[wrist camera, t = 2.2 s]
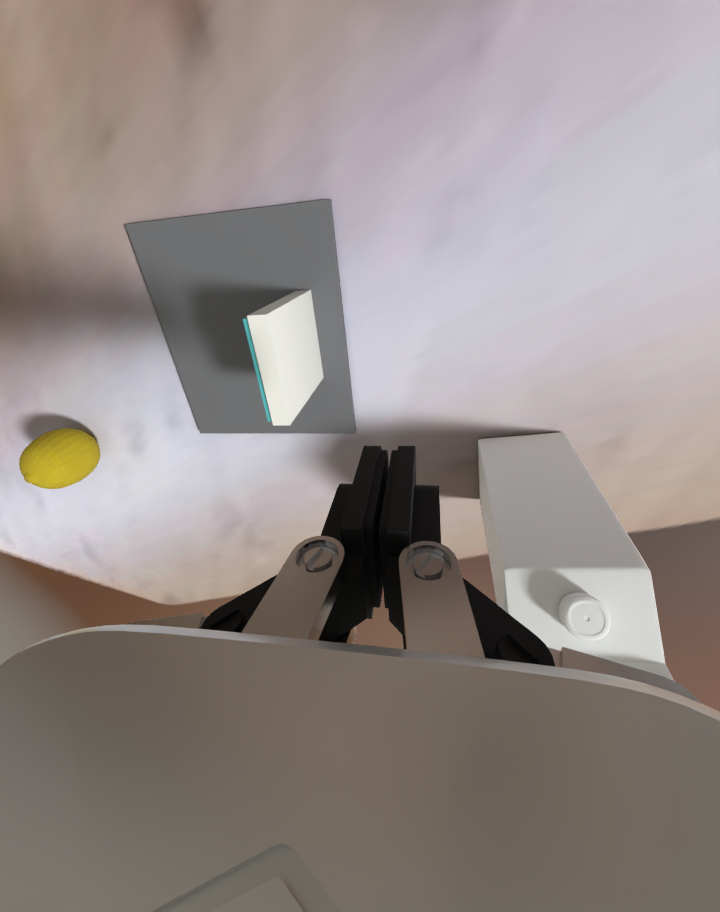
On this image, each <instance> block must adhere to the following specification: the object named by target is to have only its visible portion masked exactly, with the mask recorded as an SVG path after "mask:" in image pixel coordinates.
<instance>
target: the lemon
mask: <svg viewBox="0 0 720 912" xmlns="http://www.w3.org/2000/svg"><path fill="white" fill-rule="evenodd" d="M99 459H100V449H99V446H98V444H97V442H96V441H95V438H94V437H92V436H90V435H89V434H87V433H86V432H83V431H81V430H77V429H71V428H63V429H57V430H54V431H50V432H47V433H45V434H43V435H41V436H40V437H38V438H37V439H35V440H34V441H33V442H32V443H30V444H29V445H28V446H27V447H26V448H25V450H24V451H23V453H22V455H21V457H20V462H19V466H20V470H21V473H22V475H23V476H24V479H25V481H26V482H28V483H32V484H33V485H36V486H38V487H42V488H47V489H58V488H63V487H66V486H69V485H72V484H74V483H76V482H79V481H80V480H82V479H84V478H85V477H86V476H88V475H89V474H90V473H91V472H92V471H93V470H94V469H95V467H96V466H97V464H98V462H99Z"/></svg>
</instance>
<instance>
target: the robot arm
mask: <svg viewBox="0 0 720 912" xmlns="http://www.w3.org/2000/svg"><path fill="white" fill-rule="evenodd" d="M382 589H384V601H385V608H389V620H390V622H391V623H392V624H393V625H394V626H395V627H396V628H397V629H398V630H399V632H400V633H401V634H402V639H403V649H395V648H385V647H376V646H366V645H357V644H353V641H354V638H355V634H356V626H357V625H358V624H359V623H361V622H362V621H364V620H365V619H366V618H369V619H372V613H373V607H380V604H381V596H382ZM0 912H720V712H719V711H717V710H714V709H712V708H710V707H707V706H705V705H703V704H701V703H700V701H698V699H697V698H696V697H695V696H694V695H693V694H692V693H691V692H690V691H688V690H687V689H685V688H684V687H683V686H681V685H680V684H679V683H677V682H675V681H673V680H670V679H668V678H666V677H663V676H661V675H657V674H654V673H651V672H647V671H644V670H640V669H637V668H634V667H630V666H627V665H623V664H620V663H617V662H613V661H610V660H606V659H603V658H599V657H596V656H593V655H589V654H586V653H582V652H579V651H576V650H572V649H569V648H565V647H562V649H561V651H559V650H555V649H552V648H549V647H547V646H546V644H545V643H544V642H543V641H542V640H541V639H540V638H539V637H538V636H536V635H535V634H534V633H533V632H531V631H530V630H529V629H527V628H526V627H525V626H524V625H522V624H521V623H520V622H519V621H517V620H516V619H515V618H513V617H512V616H511V615H510V614H508V613H507V612H506V611H505V610H503V609H502V608H501V607H499V606H498V605H497V604H496V603H494V602H493V601H492V600H490V599H489V598H488V597H487V596H485V595H484V594H483V593H482V592H480V591H479V590H478V589H476V588H475V587H474V586H473V585H471V584H470V583H469V582H468V581H466V580H465V579H464V578H462V574H461V571H460V567H459V564H458V560H457V558H456V556H455V554H454V553H453V552H452V551H451V550H450V549H449V548H448V547H446V546H444V545H442V544H441V532H440V504H439V486H424V485H416V449H415V446H399V447H398V450H392V453H391V459H390V465H389V466H388V452H387V450H382V448H381V446H364V448H363V451H362V455H361V458H360V461H359V465H358V468H357V471H356V475H355V478H354V481H353V484H339V486H338V488H337V491H336V494H335V497H334V500H333V502H332V505H331V508H330V511H329V514H328V517H327V519H326V522H325V525H324V528H323V531H322V534H321V536H316V537H311V538H308V539H306V540H304V541H302V542H301V543H299V544H298V545H297V546H296V547H295V548H294V549H293V551H292V552H291V554H290V555H289V557H288V559H287V560H286V562H285V563H284V565H283V567H282V568H281V570H280V572H279V573H278V575H276V576H274V577H272V578H270V579H269V580H267V581H265V582H263V583H262V584H260V585H258V586H256V587H255V588H253V589H251V590H249V591H247V592H246V593H244V594H242V595H240V596H239V597H237V598H235V599H234V600H232V601H230V602H228V603H226V604H225V605H223V606H221V607H219V608H218V609H216V610H215V611H214V612H212V613H211V614H210V615H209V616H207V617H205V616H204V614H203V613H197V614H189V615H181V616H174V617H165V618H158V619H150V620H143V621H135V622H131V623H128V624H124V625H108V626H98V627H92V628H85V629H79V630H75V631H72V632H68V633H64V634H60V635H56V636H53V637H50V638H47V639H45V640H42V641H40V642H37V643H35V644H33V645H30V646H29V647H27V648H25V649H23V650H21V651H20V652H18V653H17V654H15V655H14V656H12V657H11V658H10V659H8V660H7V661H5V662H4V663H3V664H2V665H0Z"/></svg>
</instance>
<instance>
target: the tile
mask: <svg viewBox="0 0 720 912" xmlns="http://www.w3.org/2000/svg"><path fill="white" fill-rule="evenodd" d="M243 323H244V327H245V331H246V335H247V339H248V343H249V347H250V351H251V355H252V359H253V363H254V367H255V371H256V375H257V379H258V383H259V387H260V391H261V395H262V399H263V404H264V408H265V412H266V416H267V420H268V422H272V423H273V426H281V425H291V423H292V422H293V421H294V419H295V418H296V416H297V415H298V413H299V412H300V411H301V409H302V408H303V406H304V405H305V403H306V402H307V401H308V399H309V398H310V396H311V395H312V393H313V392H314V391H315V389H316V388H317V386H318V385H319V383H320V382H321V381H322V379H323V378H324V376H323V369H322V362H321V356H320V349H319V342H318V335H317V328H316V322H315V315H314V308H313V301H312V294H311V290H301V291H295V292H293V293H291V294H289V295H287V296H285V297H283V298H281V299H279V300H277V301H275V302H273V303H271V304H269V305H267V306H265V307H263V308H261V309H259V310H257V311H255V312H253V313H251V314H249V315H247V317H246V318H244V319H243Z"/></svg>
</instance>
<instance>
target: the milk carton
mask: <svg viewBox="0 0 720 912" xmlns="http://www.w3.org/2000/svg"><path fill="white" fill-rule="evenodd" d="M478 457H479V488H480V505H481V511H482V517H483V523H484V529H485V535H486V541H487V547H488V553H489V558H490V564H491V570H492V576H493V582H494V588H495V594H496V600H497V605H498V606H499V607H501V608H502V609H503V610H505V611H506V612H507V613H508V614H510V615H511V616H512V617H513V618H515V619H516V620H517V621H519V622H520V623H521V624H522V625H524V626H525V627H526V628H527V629H529V630H530V631H531V632H533V633H534V634H535V635H536V636H538V637H539V638H540V639H541V640H542V641H543V642H544V643H545V644H546V646H547V647H549V648H552V649H555V650H559V651H561V649H562V647H565V648H569V649H572V650H576V651H579V652H582V653H586V654H589V655H593V656H596V657H599V658H603V659H606V660H610V661H613V662H617V663H620V664H623V665H627V666H630V667H634V668H637V669H640V670H644V671H647V672H651V673H654V674H657V675H661V676H663V677H666V678H668V679H670V680H673V678H672V676H671V674H670V672H669V670H668V668H667V666H666V665H665V660H664V653H663V647H662V640H661V634H660V628H659V622H658V615H657V609H656V603H655V596H654V589H653V583H652V577H651V572H650V570H649V569H648V567H647V565H646V564H645V562H644V560H643V558H642V557H641V555H640V553H639V552H638V550H637V548H636V547H635V545H634V544H633V542H632V540H631V539H630V537H629V536H628V534H627V532H626V531H625V529H624V528H623V526H622V524H621V523H620V521H619V520H618V518H617V516H616V515H615V513H614V512H613V510H612V508H611V507H610V505H609V504H608V502H607V500H606V499H605V497H604V495H603V494H602V492H601V491H600V489H599V487H598V486H597V484H596V483H595V481H594V479H593V478H592V476H591V475H590V473H589V471H588V470H587V468H586V467H585V465H584V463H583V462H582V460H581V459H580V457H579V455H578V454H577V452H576V451H575V449H574V447H573V446H572V444H571V442H570V441H569V439H568V438H567V436H566V435H565V433H547V434H535V435H523V436H511V437H498V438H486V439H479V440H478ZM673 681H674V680H673Z"/></svg>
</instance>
